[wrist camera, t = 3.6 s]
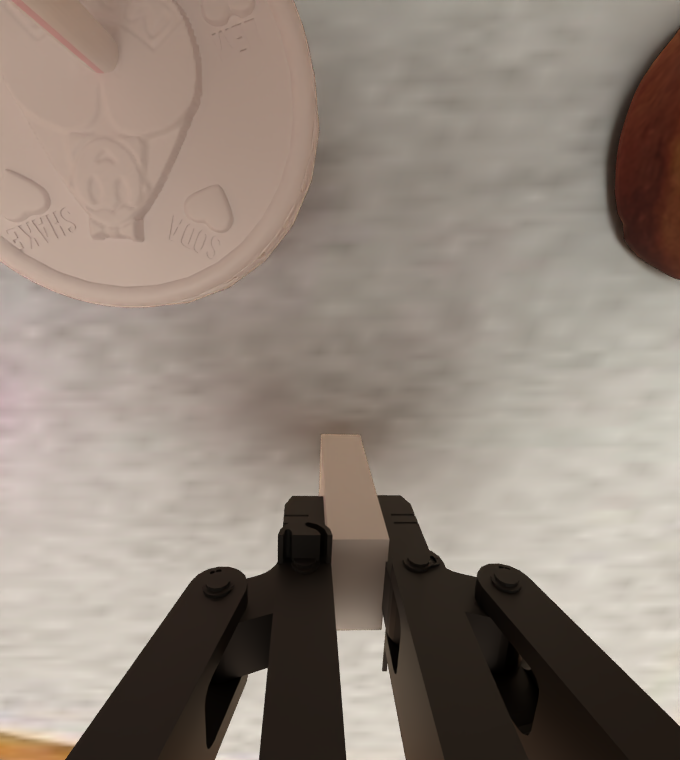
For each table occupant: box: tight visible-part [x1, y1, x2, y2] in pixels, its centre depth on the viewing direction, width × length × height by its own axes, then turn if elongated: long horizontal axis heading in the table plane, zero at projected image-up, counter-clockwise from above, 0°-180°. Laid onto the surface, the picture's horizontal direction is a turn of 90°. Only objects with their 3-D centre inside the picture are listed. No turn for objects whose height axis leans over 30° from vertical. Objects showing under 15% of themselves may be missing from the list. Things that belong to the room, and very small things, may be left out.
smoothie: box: [0, 0, 319, 308], centre depth 9 cm, size 6×6×14 cm
